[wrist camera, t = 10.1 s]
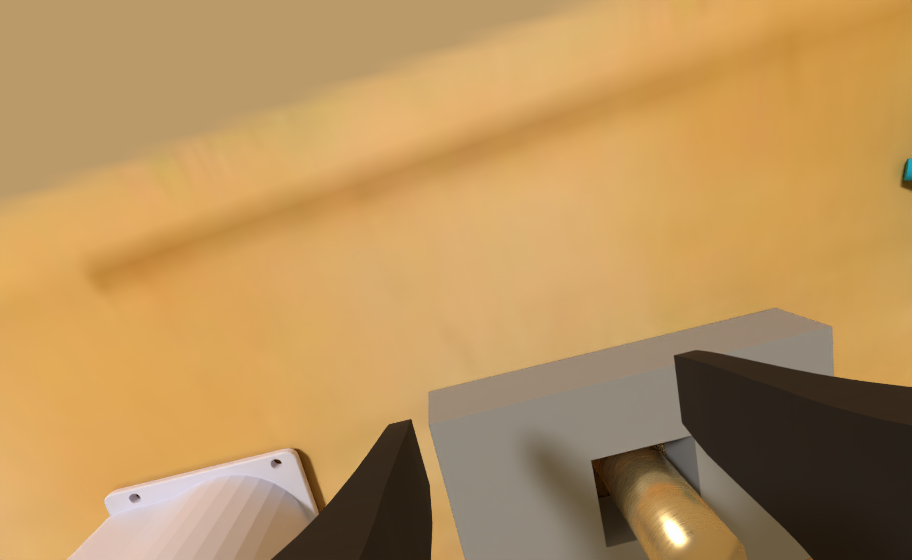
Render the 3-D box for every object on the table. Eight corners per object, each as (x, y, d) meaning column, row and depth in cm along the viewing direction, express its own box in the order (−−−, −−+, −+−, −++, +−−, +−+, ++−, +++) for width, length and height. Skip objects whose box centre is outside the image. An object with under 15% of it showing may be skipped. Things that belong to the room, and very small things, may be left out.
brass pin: (595, 484, 23) (668, 612, 16) (586, 433, 22) (657, 543, 15) (652, 470, 23) (750, 591, 16) (645, 418, 22) (743, 521, 15)
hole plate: (479, 584, 23) (486, 640, 20) (428, 392, 21) (428, 424, 18) (788, 506, 24) (839, 551, 21) (776, 308, 21) (832, 326, 18)
